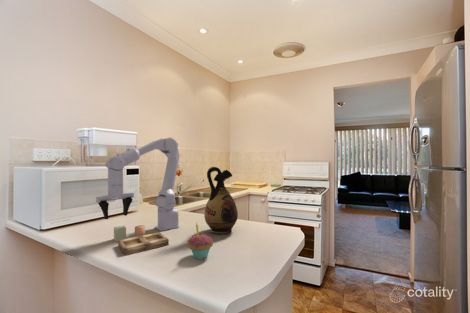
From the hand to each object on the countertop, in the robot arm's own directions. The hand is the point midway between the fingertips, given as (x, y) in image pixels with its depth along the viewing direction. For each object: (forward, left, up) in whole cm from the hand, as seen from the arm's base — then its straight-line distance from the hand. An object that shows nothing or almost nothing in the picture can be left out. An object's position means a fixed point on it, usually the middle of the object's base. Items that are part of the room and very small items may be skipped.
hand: (116, 217), depth 97 cm
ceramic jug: (-40, +18, -10) cm, 45 cm away
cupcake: (-20, +37, -10) cm, 43 cm away
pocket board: (-7, +14, -9) cm, 19 cm away
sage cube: (-1, +1, -10) cm, 10 cm away
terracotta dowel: (-8, +5, -9) cm, 14 cm away
